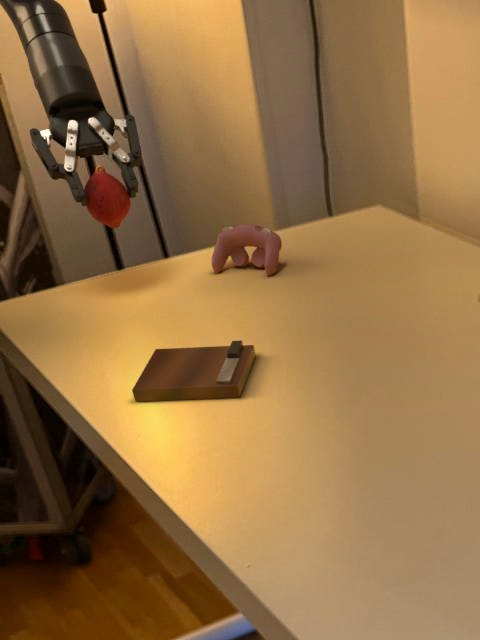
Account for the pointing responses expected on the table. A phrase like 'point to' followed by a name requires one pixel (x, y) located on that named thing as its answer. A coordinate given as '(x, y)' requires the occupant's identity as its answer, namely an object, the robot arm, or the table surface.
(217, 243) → the video game controller
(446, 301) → the table surface
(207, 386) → the cutting board
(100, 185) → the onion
